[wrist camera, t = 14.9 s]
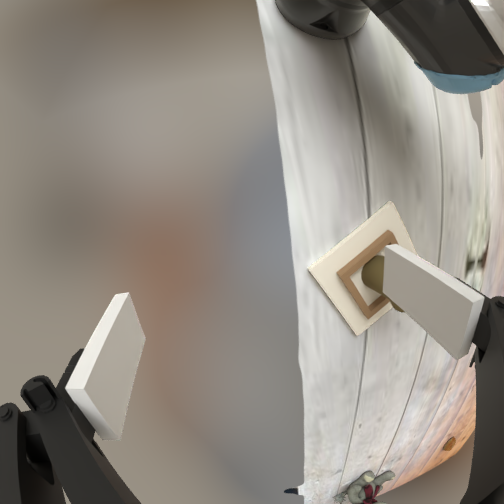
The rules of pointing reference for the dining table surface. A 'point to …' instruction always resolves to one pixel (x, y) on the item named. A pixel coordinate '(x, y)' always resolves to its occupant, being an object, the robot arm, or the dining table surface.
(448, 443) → the pastry
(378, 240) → the seat board
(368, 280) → the cork
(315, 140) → the dining table surface
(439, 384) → the dining table surface
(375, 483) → the plush elephant
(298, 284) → the dining table surface
